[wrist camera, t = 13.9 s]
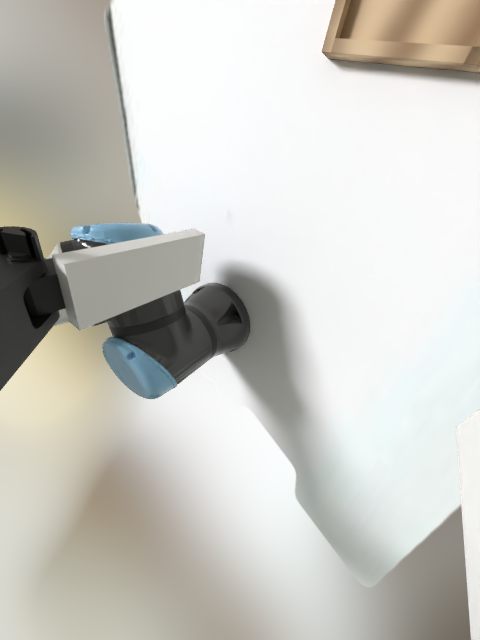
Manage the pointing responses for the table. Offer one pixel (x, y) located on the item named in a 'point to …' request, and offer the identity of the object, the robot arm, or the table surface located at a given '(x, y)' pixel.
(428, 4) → the divided wooden tray
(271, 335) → the table surface
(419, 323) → the table surface
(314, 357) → the table surface
